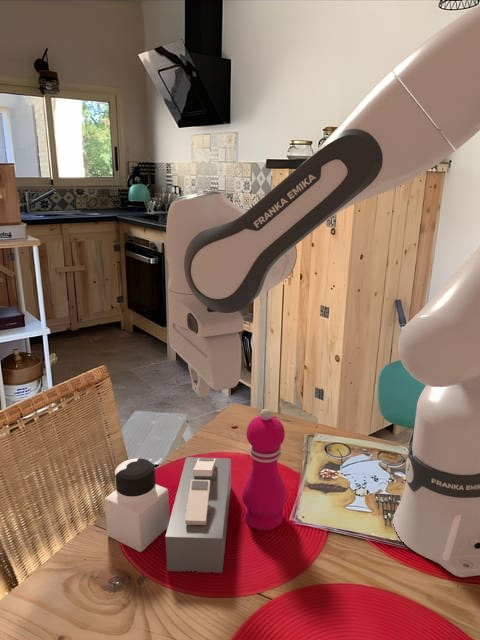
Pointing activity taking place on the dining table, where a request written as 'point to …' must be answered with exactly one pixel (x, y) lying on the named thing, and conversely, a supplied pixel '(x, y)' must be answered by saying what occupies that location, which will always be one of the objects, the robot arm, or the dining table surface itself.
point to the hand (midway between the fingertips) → (200, 393)
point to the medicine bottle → (136, 505)
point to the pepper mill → (264, 473)
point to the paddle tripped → (204, 467)
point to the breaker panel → (200, 540)
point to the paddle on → (197, 502)
